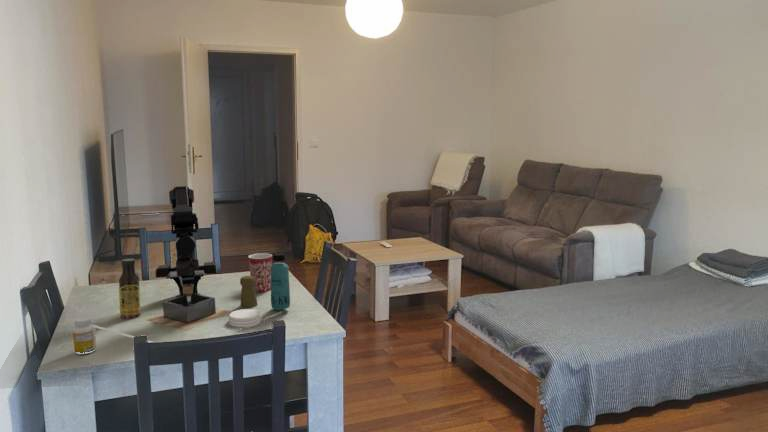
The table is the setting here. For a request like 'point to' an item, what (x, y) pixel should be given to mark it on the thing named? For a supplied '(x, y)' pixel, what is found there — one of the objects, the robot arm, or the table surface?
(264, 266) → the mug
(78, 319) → the supplement bottle
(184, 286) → the plunger
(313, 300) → the table surface
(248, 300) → the pepper shaker
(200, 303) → the shallow square tray
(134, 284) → the sauce bottle
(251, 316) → the white round container
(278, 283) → the beverage bottle
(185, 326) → the tan square board
